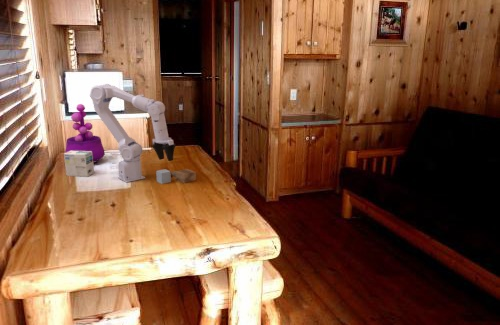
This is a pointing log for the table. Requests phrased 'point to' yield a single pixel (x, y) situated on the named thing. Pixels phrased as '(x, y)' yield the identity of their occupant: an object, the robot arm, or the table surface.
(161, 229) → the table surface
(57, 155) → the table surface
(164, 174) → the gray block
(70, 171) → the light bulb box
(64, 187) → the table surface
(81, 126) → the decorative plant
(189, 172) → the walnut block
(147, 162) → the table surface
